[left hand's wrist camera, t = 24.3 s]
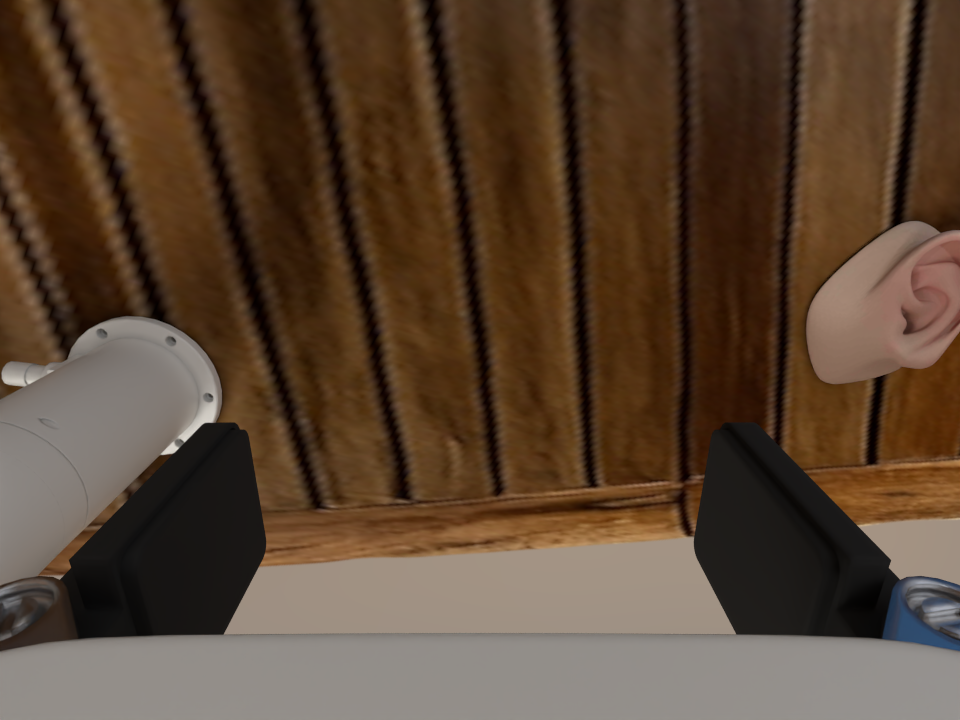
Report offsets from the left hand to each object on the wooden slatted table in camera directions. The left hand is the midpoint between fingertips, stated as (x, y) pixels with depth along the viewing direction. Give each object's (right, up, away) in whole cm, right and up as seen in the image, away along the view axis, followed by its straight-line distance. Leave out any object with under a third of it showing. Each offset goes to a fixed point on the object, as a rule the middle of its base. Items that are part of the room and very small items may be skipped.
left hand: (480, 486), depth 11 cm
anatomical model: (+33, +7, +35) cm, 48 cm away
